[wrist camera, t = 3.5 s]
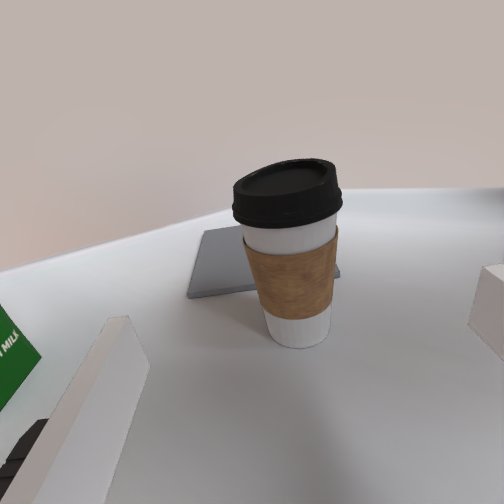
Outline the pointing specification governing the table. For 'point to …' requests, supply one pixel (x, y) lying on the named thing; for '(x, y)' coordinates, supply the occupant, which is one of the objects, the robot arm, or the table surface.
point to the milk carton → (13, 357)
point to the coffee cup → (291, 245)
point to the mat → (223, 264)
